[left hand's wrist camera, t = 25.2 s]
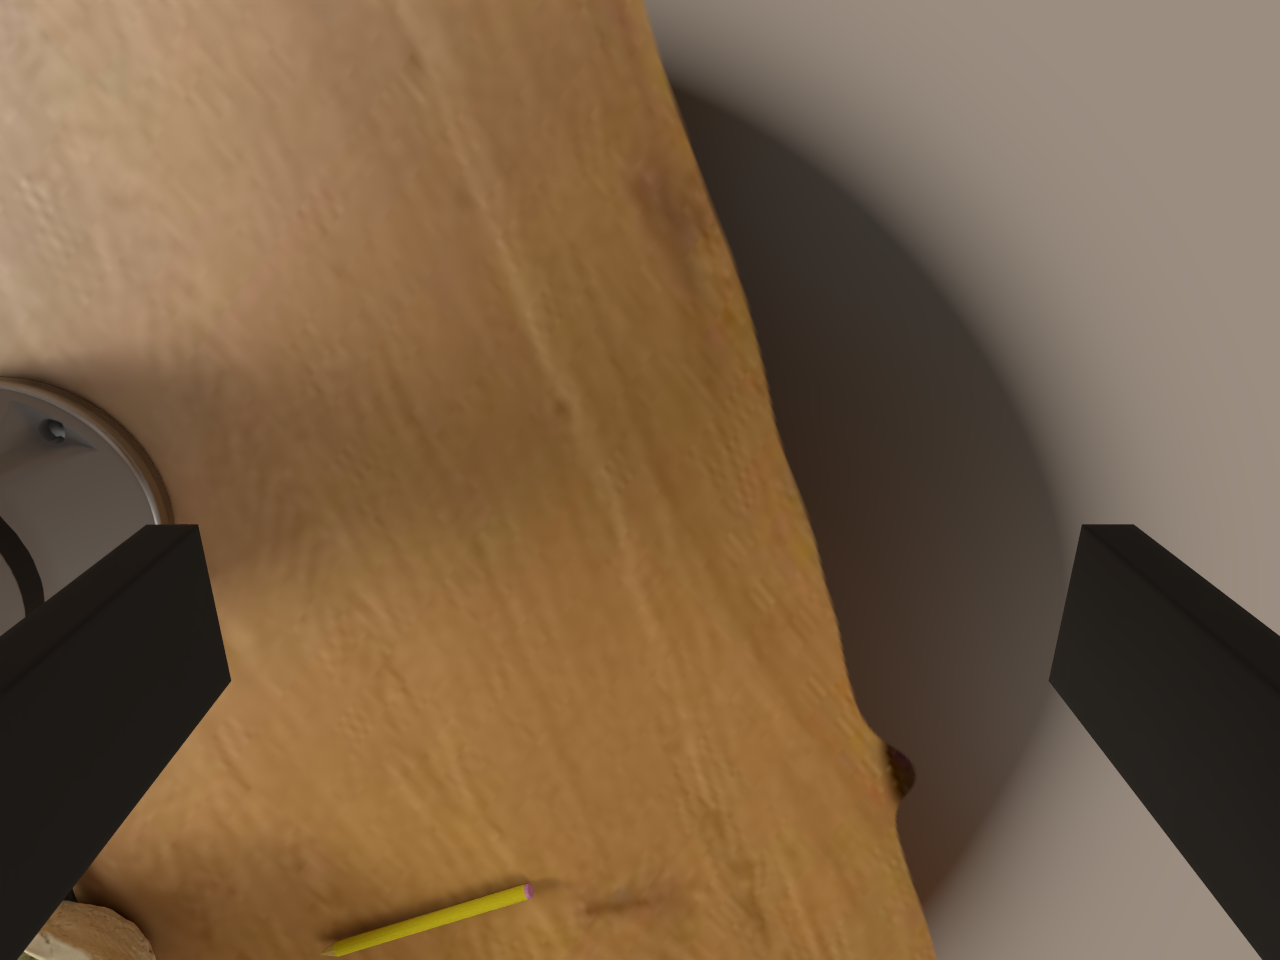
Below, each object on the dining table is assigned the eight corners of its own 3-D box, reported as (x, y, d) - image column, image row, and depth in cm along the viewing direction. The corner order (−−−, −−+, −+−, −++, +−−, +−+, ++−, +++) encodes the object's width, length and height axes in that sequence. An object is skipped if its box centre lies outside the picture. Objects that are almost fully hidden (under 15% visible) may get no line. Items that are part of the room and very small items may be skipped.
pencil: (528, 879, 58) (526, 891, 57) (534, 889, 58) (532, 901, 57) (318, 943, 60) (313, 956, 59) (325, 952, 61) (320, 965, 60)
